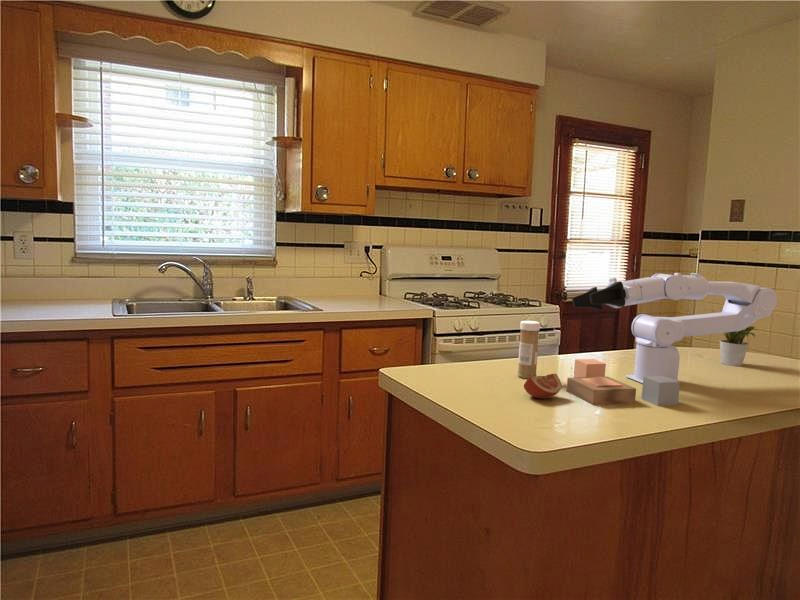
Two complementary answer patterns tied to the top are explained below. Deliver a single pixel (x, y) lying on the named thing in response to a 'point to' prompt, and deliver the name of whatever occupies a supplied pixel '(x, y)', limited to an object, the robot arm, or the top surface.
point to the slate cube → (660, 390)
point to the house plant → (734, 346)
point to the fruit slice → (543, 386)
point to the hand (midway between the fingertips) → (581, 300)
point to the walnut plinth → (601, 390)
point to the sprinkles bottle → (528, 349)
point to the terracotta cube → (589, 368)
